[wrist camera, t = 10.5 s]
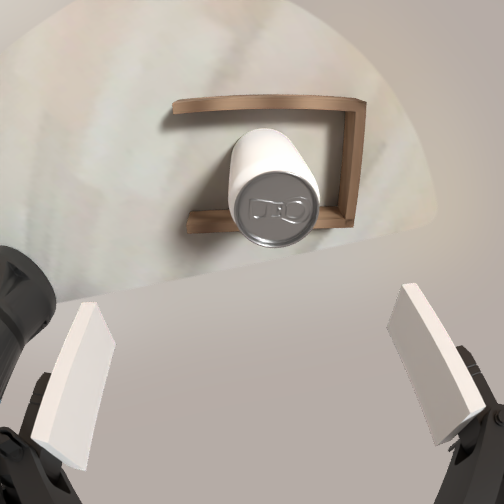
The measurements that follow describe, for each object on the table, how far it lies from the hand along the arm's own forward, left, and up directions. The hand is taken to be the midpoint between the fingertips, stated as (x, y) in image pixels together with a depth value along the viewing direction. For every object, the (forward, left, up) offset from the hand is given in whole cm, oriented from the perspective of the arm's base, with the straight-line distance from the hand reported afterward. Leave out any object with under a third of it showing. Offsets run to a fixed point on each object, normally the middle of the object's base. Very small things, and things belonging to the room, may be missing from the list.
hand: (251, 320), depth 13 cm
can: (+2, 0, -21) cm, 21 cm away
